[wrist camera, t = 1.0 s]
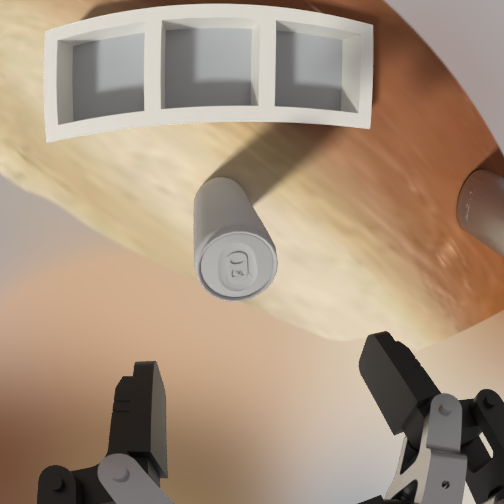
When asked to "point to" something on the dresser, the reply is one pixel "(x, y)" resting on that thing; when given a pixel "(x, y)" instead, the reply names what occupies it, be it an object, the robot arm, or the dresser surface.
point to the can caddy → (206, 69)
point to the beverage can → (231, 243)
